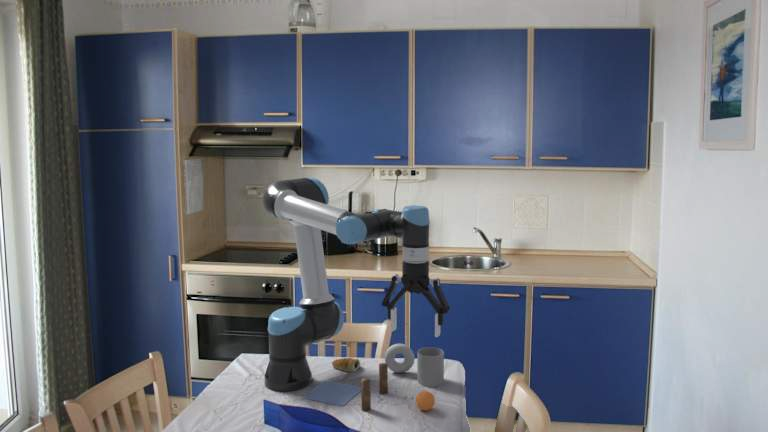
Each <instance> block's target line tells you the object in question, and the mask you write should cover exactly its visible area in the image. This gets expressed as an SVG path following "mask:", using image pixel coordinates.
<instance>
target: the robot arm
mask: <svg viewBox="0 0 768 432" xmlns="http://www.w3.org/2000/svg"><path fill="white" fill-rule="evenodd" d="M329 202H330V196H329V192H328V190H327V187H326V186H325V184H324V183H323V182H322V181H321V180H320V179H318V178H313V177H302V178H294V179H285V180H284V179H282V180H277V181H274V182H272V183H270V184H269V185H268V186H267V187H266V188H265V190H264V192H263V194H262V205H263V208H264V209H265V210H264V211H266V212H267V213H268V214H269V215H270V216H272V217H274V218H276V219H279V220H281V221H288V222H289V223H290V224H291V225H292V226H293V228H294V229H293V230H294V236H295V243H296V244H295V245H296V252H297V260H298V266H299V267H298V268H299V273H300V274H299V275H300V282H301V283H300V284H301V289H302V291H301V293H302V298H301V300H300V301H299V302H298V303H299V306H289V307H282V308H278V309H276V310H275V311H273V312H272V313H271V314H270V315H269V316H268V317H269V318H268V321H267V322H268V325H267V331H268V354H269V355H268V356H269V357H268V359H269V360H268V363H267V367H266V370H265V373H264V385H265V387H266V388H267V389H270V390H272V391H273V390H274V391H279V392H290V391H297V390H301V389H304V388H306V387H308V386H309V385H311V383H312V382H313V373H312V371H311V366H310V365H309V362H308V359H307V346H310V345H312V344H317V343H319V342H322V341H325V340H327V341H328V340H329V339H332V338H333V337H336V336H338V334H340V332H341V331H342V329H343V326H344V322H345V317H344V311H343V308H341V305H340V304H339V303H338V302H336V301H335V298H334V296H333V295H331V294H330V293H329V284H328V277H327V269H326V261H325V253H324V245H323V239H322V238H323V237H322V231H324V232H326V233H329V234H332V235H335V236H336V237H337V239H339V240H340V242H341V243H342V244H346V245H351V244H352V245H356V244H360V243H363V242H369V241H372V240H373V241H374V240H377V239H378V240H379V239H381V238H387V237H392V238H399V239H402V241H401V242H402V256H401V257H402V262H401V263H402V269H401V270H402V276H401V275H399V274H396V273H395V274H394V275H392V276H391V280H390V281H391V282H390V285H389V287H388V289H387V291H386V293H385V296H384V297H383V299H382V301H381V306H382V307H385V308H386V309H387V318H388V320H390V332H394V331H396V330H397V329H398V328H397V327H398V326H397V324H398V323H397V319H398V318H397V315H398V314H397V310H398V309H397V307H396V306H395V305H396V304H397V303H398V302H399V301H400V300H401V298H403V296H404V295H405V294H406V293H407V292H408V293H409V294H413V293H415V294H418V295H420V294H422V296H424V297H425V298H426V300H427V301H428V303H429V304H430V305H431V306H432V308H433V309H434V311H435V312H436V313H435V314H434V337H435V338H438V337H440V335H441V326H442V325H444V322H445V321H444V320H445V318H444V317H445V315H444V314H448V313H449V312H450V311H451V308H450V307H451V306H450V305H449V302H448V300H447V297H446V296H445V294H444V291H443V288H442V287H441V280H440V278H435V279H434V278H433V279H432V278H431V279H430V277H429V275H430V262H429V259H430V243H429V240H430V239H429V237H430V223H431V221H430V211H429V208H428V207H427V206H424V205H406V206H404V207H402V211H400V210H399V211H398V210H392V209H388V208H377V209H374V210H372V212H370V213H362V214H361V213H360V214H358V213H354V212H351V211H349V210H345V209H342V208H339V207H336V206H332V205H329ZM400 282H401V283H402V285H403V287H402V288H401V289H400V291H399V292H398V293H397V294H396V295H395V296H394V298H393V299H392V300H391V298H392V296H393V295H394V292H395V291H396V288H397V286H398V284H400ZM429 285H431V287H432V288H433V290H434V293H435V295H436V297H435V296H434V294H433V293H432V292H431V289H430V288H429ZM390 300H391V301H390Z"/></svg>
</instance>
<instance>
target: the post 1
mask: <svg viewBox="0 0 768 432" xmlns="http://www.w3.org/2000/svg"><path fill="white" fill-rule="evenodd" d="M360 382H361V384H360V385H361V386H360V387H361V391H360V392H361V411H363V412H369V411H371V408H372V406H371V379H370V378H368V377H363V378H361V380H360Z"/></svg>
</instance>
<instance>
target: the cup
mask: <svg viewBox="0 0 768 432" xmlns="http://www.w3.org/2000/svg"><path fill="white" fill-rule="evenodd" d="M416 355H417V359H416V360H417V365H416V366H417V370H416V371H417V374H416V376H417V378H416V379H417V383H418V385H420V386H423V387H427V388H436V387H440V386H441V385H444V382H445V381H444V380H445V379H444V375H445V373H444V372H445V370H444V369H445V351H444V350H443V349H441V348H439V347H433V346H430V347H428V346H427V347H421V348H419V349H418V350H417V354H416Z"/></svg>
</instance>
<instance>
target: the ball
mask: <svg viewBox="0 0 768 432" xmlns="http://www.w3.org/2000/svg"><path fill="white" fill-rule="evenodd" d="M435 402H436V400H435V396H434V395H433V393H431V392H430V391H427V390H422V391H420V392H419V393H418V394H417V395H416V398H415V404H416V406H417V408H418V409H419V410H421V411H424V412H427V411H429V410H431V409H433V407H434V405H435Z"/></svg>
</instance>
